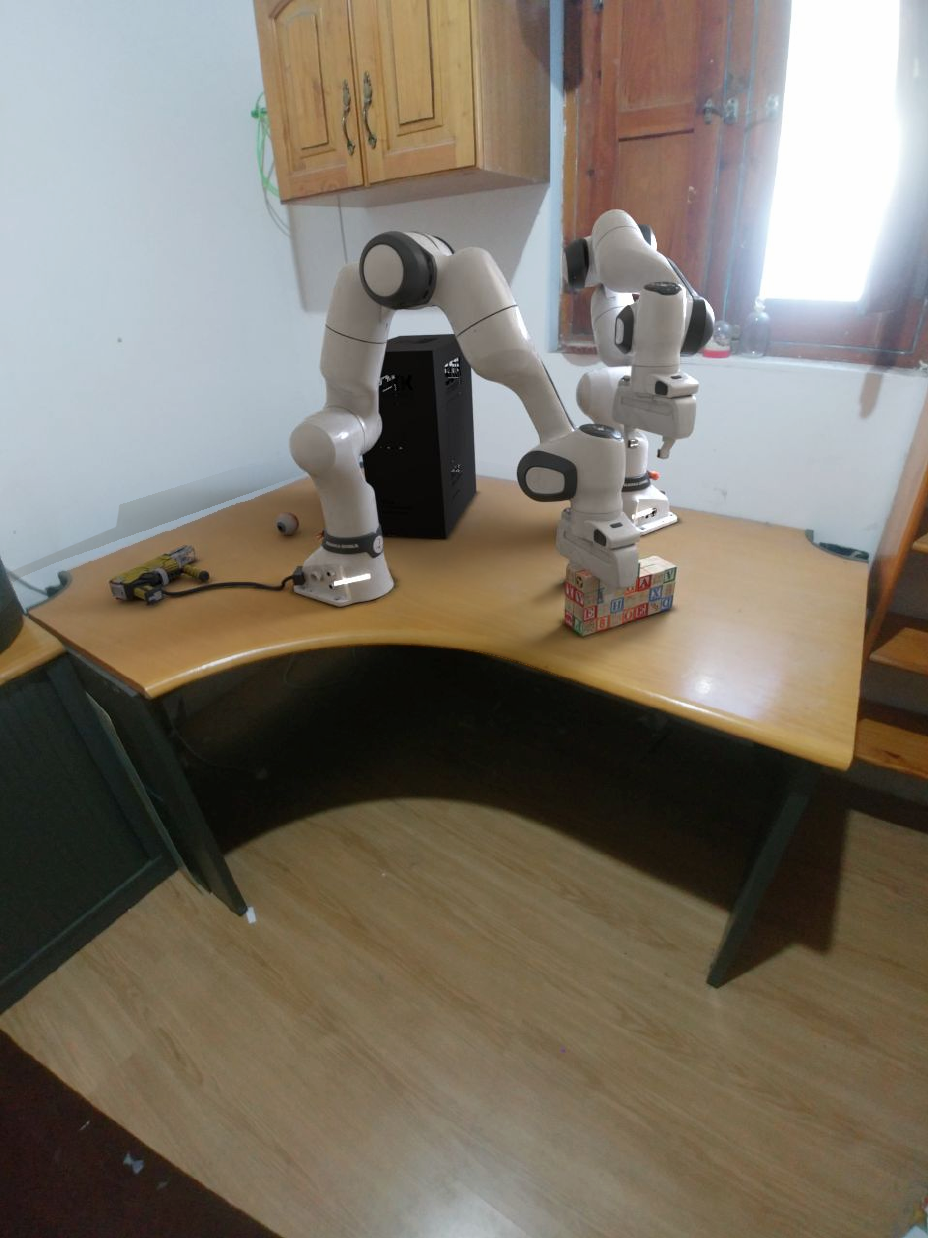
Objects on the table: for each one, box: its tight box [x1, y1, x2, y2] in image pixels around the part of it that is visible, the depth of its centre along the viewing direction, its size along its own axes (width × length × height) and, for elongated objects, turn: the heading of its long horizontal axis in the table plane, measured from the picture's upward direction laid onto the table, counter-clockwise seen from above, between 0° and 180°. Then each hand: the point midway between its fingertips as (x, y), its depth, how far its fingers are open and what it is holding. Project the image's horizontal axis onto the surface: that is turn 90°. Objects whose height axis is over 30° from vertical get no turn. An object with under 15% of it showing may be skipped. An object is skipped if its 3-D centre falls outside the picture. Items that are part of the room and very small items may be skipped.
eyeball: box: [275, 511, 300, 536], centre depth 163 cm, size 6×6×6 cm
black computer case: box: [361, 333, 477, 540], centre depth 163 cm, size 38×20×45 cm, turn 167°
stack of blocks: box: [563, 555, 678, 637], centre depth 115 cm, size 21×6×12 cm, turn 115°
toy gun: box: [108, 544, 210, 607], centre depth 141 cm, size 5×24×15 cm
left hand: (591, 591), depth 112 cm, fingers open, 7 cm apart
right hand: (646, 452), depth 121 cm, fingers open, 8 cm apart
